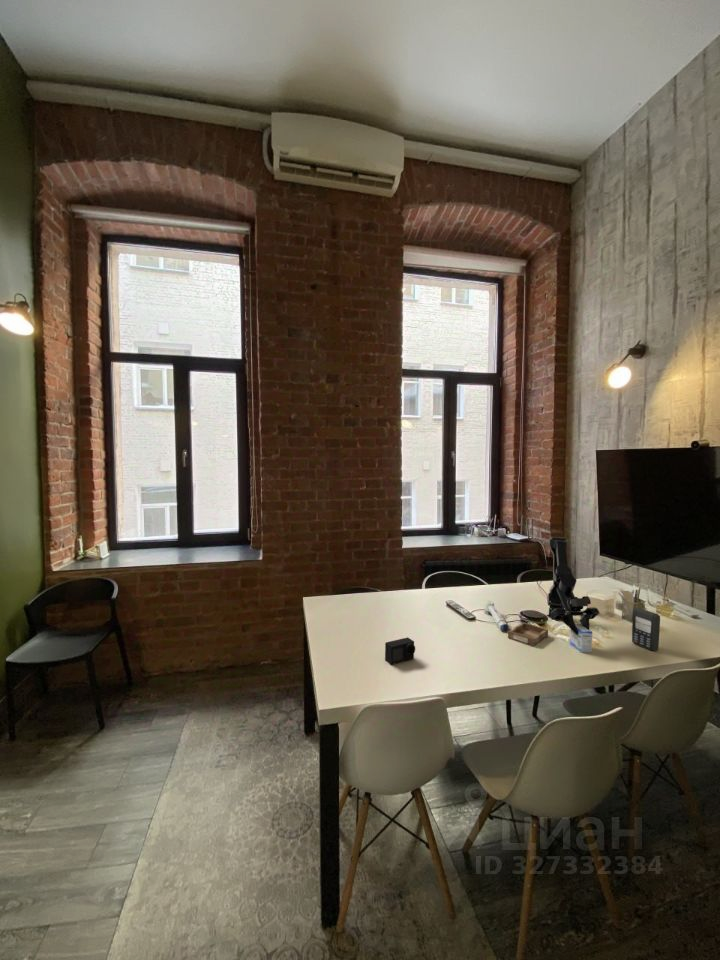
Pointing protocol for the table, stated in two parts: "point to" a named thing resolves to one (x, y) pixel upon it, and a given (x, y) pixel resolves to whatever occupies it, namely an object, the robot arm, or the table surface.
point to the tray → (528, 634)
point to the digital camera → (399, 651)
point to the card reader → (645, 629)
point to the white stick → (496, 616)
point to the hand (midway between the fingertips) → (583, 633)
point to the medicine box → (581, 639)
